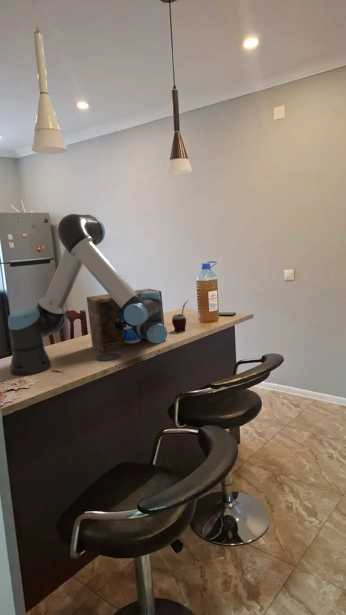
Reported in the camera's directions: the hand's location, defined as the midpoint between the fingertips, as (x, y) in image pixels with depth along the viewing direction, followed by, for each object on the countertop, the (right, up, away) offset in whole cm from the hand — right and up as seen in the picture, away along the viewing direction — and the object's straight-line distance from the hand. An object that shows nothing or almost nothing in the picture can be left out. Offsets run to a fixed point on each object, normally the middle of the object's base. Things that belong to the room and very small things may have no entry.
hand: (127, 320), depth 188 cm
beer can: (+3, -10, -3) cm, 10 cm away
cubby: (+1, -11, +1) cm, 11 cm away
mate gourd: (+25, -6, +20) cm, 33 cm away
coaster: (-6, -15, -18) cm, 24 cm away
